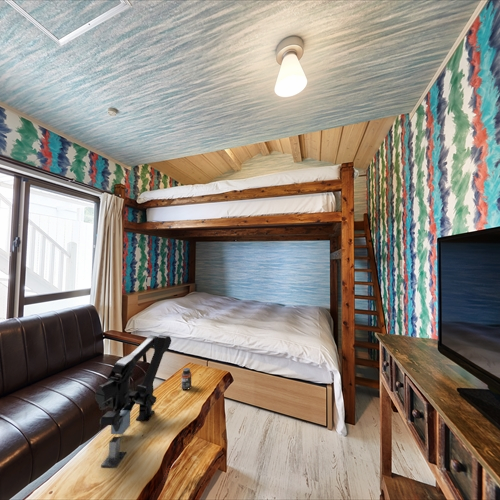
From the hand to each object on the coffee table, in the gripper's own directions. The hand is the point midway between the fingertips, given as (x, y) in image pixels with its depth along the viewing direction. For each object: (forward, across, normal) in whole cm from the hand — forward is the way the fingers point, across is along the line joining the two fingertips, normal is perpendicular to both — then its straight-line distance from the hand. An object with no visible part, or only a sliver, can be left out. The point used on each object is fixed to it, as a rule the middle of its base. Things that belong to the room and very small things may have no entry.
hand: (120, 426), depth 94 cm
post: (+4, +11, +5) cm, 13 cm away
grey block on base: (+1, 0, 0) cm, 1 cm away
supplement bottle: (+5, -38, +16) cm, 42 cm away
